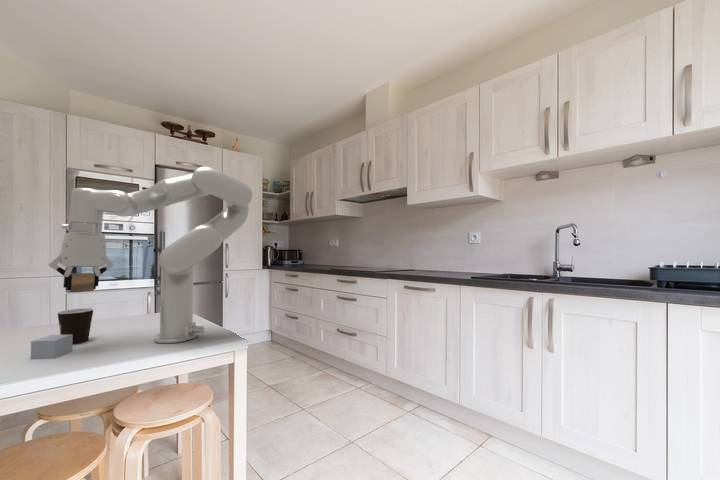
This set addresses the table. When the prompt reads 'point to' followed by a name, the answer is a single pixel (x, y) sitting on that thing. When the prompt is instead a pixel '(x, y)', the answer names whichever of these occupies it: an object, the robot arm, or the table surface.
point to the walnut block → (82, 282)
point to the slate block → (51, 346)
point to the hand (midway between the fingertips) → (81, 288)
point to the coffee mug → (76, 323)
